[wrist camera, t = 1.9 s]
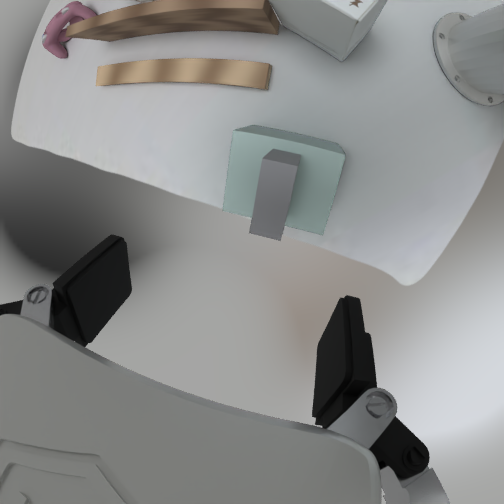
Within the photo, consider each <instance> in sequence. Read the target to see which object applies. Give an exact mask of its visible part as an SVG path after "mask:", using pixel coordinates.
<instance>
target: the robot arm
mask: <svg viewBox="0 0 504 504" xmlns="http://www.w3.org/2000/svg"><path fill="white" fill-rule="evenodd" d="M439 36H440V37H439ZM433 40H434V48H435V53H436V56H437V59H438V61H439V64H440V66H441V68H442V70H443V72H444V73H445V75H446V76H447V78H448V79H449V81H450V82H451V83H452V84H453V86H454V87H455V88H456V89H457V90H458V91H459V92H460V93H461V94H462V95H464V96H465V97H466V98H468V99H469V100H471V101H473V102H475V103H477V104H481V105H488V106H492V105H497V104H499V103H501V102H503V101H504V4H502V5H500V6H497V7H495V8H492V9H490V10H487V11H485V12H482V13H480V14H478V15H475V16H473V17H472V16H469V15H467V14H463V13H450V14H448V15H445V16H444V17H442V18H441V19H440V20H439V21H438V22H437V24H436V26H435V29H434V35H433ZM455 79H456V81H455ZM53 286H54V289H53V290H52V289H51V288H50V287H49V286H48V285H45V284H38V285H35V286H33V287H31V288H30V289H29V290H28V291H27V292H26V294H25V296H24V299H23V300H21V301H17V302H12V303H7V304H2V305H0V504H381V488H382V489H383V491H384V493H385V495H384V496H383V497H384V499H385V501H386V504H450V502H449V499H448V497H447V495H446V493H445V491H444V489H443V487H442V485H441V483H440V481H439V479H438V477H437V476H436V474H435V472H434V470H433V468H431V469H429V467H428V463H429V451H428V449H427V447H426V446H425V445H424V443H422V442H421V441H420V440H419V439H418V438H417V437H416V436H415V435H414V434H413V433H412V432H411V431H410V430H409V429H408V428H407V427H406V426H405V425H404V424H403V423H402V422H401V421H400V420H399V419H398V418H396V416H395V415H396V413H397V403H396V401H395V399H394V397H393V396H392V395H391V394H390V393H389V392H388V391H386V390H385V389H381V388H377V382H376V372H375V363H374V355H373V348H372V341H371V336H370V334H369V333H366V332H365V328H364V321H363V315H362V309H361V302H360V299H359V298H356V297H352V296H348V295H347V296H345V297H344V298H340V299H339V301H338V304H337V306H336V308H335V310H334V312H333V314H332V316H331V318H330V321H329V322H328V325H327V327H326V329H325V331H324V333H323V335H322V337H321V339H320V341H319V343H318V347H317V362H316V376H315V388H314V399H313V410H312V417H316V422H315V425H321V426H322V428H320V427H317V426H313V425H308V424H303V423H299V422H294V421H289V420H284V419H280V418H275V417H271V416H266V415H262V414H258V413H254V412H250V411H246V410H242V409H239V408H234V407H231V406H227V405H224V404H221V403H217V402H214V401H211V400H207V399H204V398H202V397H198V396H195V395H193V394H190V393H187V392H184V391H181V390H178V389H175V388H173V387H170V386H168V385H165V384H162V383H160V382H157V381H155V380H153V379H150V378H148V377H145V376H143V375H141V374H138V373H136V372H134V371H132V370H129V369H127V368H125V367H123V366H121V365H119V364H116V363H114V362H112V361H110V360H108V359H106V358H104V357H102V356H100V355H98V354H96V353H94V352H93V351H91V350H89V349H87V348H85V347H86V345H87V344H88V343H91V342H92V341H93V340H94V338H95V337H96V335H98V333H99V332H100V331H101V330H102V328H103V327H104V326H105V325H106V323H107V322H108V321H109V320H110V319H111V317H112V316H113V315H114V314H115V312H116V311H117V310H118V309H119V307H120V306H121V305H122V304H123V303H124V302H125V300H126V299H127V298H128V297H129V296H130V294H131V291H132V286H131V278H130V271H129V262H128V253H127V244H126V242H125V241H124V238H122V237H119V236H116V235H110V236H108V237H107V238H106V239H105V240H103V241H102V242H101V243H100V244H98V245H97V246H96V247H95V248H93V249H92V250H91V251H90V252H88V253H87V254H86V255H85V256H84V257H82V258H81V259H80V260H79V261H77V262H76V263H75V264H74V265H73V266H72V267H71V268H69V269H68V270H67V271H66V272H65V273H64V274H62V275H61V276H60V277H59V278H58V279H57V280H56V281H55V282H54V283H53ZM74 341H75V342H74Z"/></svg>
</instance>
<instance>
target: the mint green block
mask: <svg viewBox="0 0 504 504" xmlns="http://www.w3.org/2000/svg"><path fill="white" fill-rule="evenodd" d="M345 156H346V155H345V153H344V152H343V150H342V149H341V147H340V146H339V144H337V143H333V142H329V141H326V140H322V139H318V138H314V137H310V136H306V135H301V134H297V133H292V132H288V131H283V130H278V129H273V128H268V127H262V126H257V125H250V126H247V127H243V128H239V129H236V130H233V135H232V142H231V149H230V156H229V164H228V171H227V179H226V187H225V195H224V203H223V211H226V212H230V213H234V214H239V215H243V216H247V217H251V218H252V220H251V226H250V233H251V234H255V235H259V236H263V237H267V238H272V239H276V240H281V237H282V234H283V230H284V226H288V227H292V228H296V229H300V230H304V231H308V232H312V233H316V234H319V235H323V234H324V230H325V227H326V224H327V221H328V217H329V214H330V210H331V207H332V204H333V200H334V197H335V193H336V190H337V186H338V182H339V179H340V175H341V171H342V167H343V164H344V160H345Z"/></svg>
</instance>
